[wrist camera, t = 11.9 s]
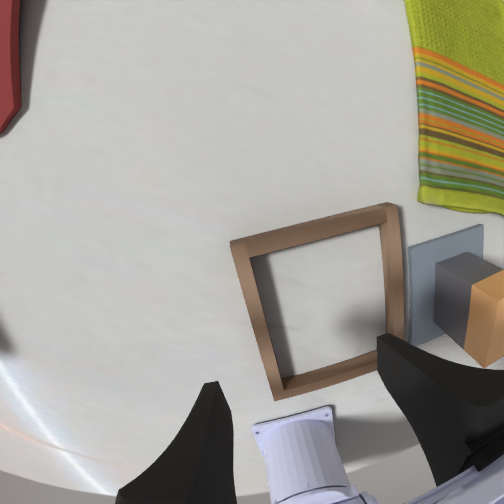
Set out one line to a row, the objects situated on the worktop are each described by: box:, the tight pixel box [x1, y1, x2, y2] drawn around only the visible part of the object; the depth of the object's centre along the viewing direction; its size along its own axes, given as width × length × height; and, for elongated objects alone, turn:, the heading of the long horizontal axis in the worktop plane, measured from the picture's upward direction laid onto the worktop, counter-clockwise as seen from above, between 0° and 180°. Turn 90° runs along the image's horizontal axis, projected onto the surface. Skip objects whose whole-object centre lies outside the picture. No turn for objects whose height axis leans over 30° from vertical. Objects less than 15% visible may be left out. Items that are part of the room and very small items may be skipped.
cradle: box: [230, 202, 404, 401], centre depth 22 cm, size 14×12×2 cm
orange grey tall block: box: [433, 252, 504, 368], centre depth 20 cm, size 6×4×8 cm, turn 13°
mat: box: [408, 224, 484, 346], centre depth 24 cm, size 10×9×1 cm
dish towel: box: [404, 0, 504, 215], centre depth 16 cm, size 15×36×3 cm, turn 0°
